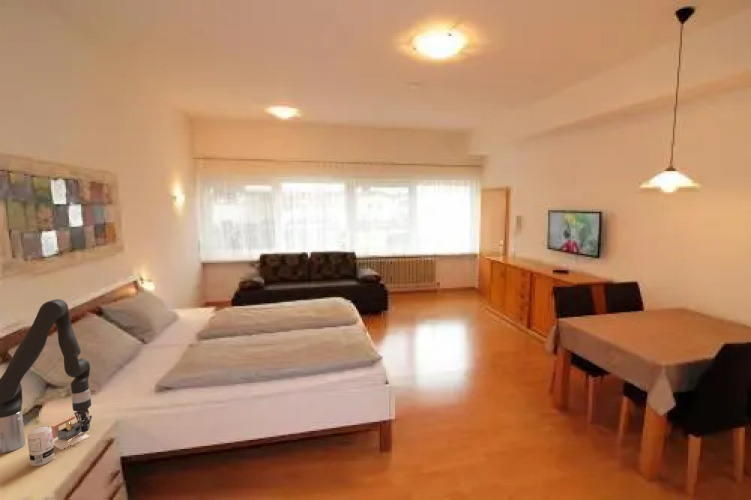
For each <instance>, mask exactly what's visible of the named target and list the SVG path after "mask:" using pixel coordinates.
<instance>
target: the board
mask: <svg viewBox="0 0 751 500" xmlns="http://www.w3.org/2000/svg"><path fill="white" fill-rule="evenodd" d="M88 437H89V438H90V437H91V436H90V435H88V434H86V433H85V432H84V433H83V432H80V433H79V434H78V435H76V436H75V437H74V438H72V440H71V441H70V442H68V441H66V440H60V439H58V437H56V438H53V447H55V448H57V449H58V450H61V451H62V450H65V449H67V448H69V447H71V446H73V445H75V443H76V444H78V443H80V442H82V441H84V439H85V440H87V439H88ZM86 438H87V439H86ZM77 442H78V443H77ZM68 443H69V444H68ZM72 444H73V445H72ZM70 445H71V446H70ZM68 446H69V447H68ZM66 447H67V448H66ZM64 448H65V449H64Z"/></svg>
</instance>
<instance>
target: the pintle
mask: <svg viewBox="0 0 751 500" xmlns="http://www.w3.org/2000/svg"><path fill="white" fill-rule="evenodd" d="M65 427H66V428H67V431H69V430H71V429H72V421H69V422H67V423H65Z"/></svg>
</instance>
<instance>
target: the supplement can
mask: <svg viewBox="0 0 751 500" xmlns="http://www.w3.org/2000/svg"><path fill="white" fill-rule="evenodd" d="M27 443H28V444H27V445H28V455H29V464H30V465H31V466H32V467H39V466H43V465H46V464H49V463H50V462H51V461H52V460H53V459H54V458H55V450H54V449H55V448H54V447H55V446H54V445H53V437H52V429H51V426H49V425H41V426H38V427H35V428H32V429H31V430H30V431H29V432H28V434H27Z"/></svg>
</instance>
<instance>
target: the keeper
mask: <svg viewBox="0 0 751 500" xmlns="http://www.w3.org/2000/svg"><path fill="white" fill-rule="evenodd" d="M75 419H76V416H75V415H71V416H69V417H66V418H64V419H62V420H60V421H59V422H56V423H55V424H52V425H51V426H50V428H51V429H52V437H53V438H56V437H58V431H60V428H59V427H60V426H61V427H62V425H64V424H65V425H66V423H68V422H72V420H75Z"/></svg>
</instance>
